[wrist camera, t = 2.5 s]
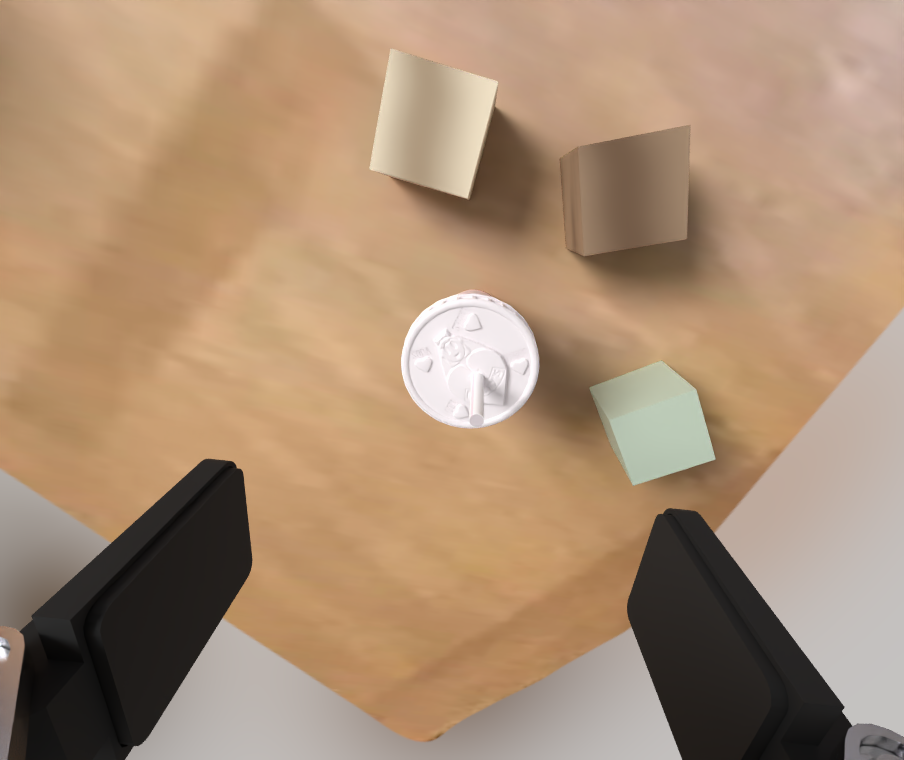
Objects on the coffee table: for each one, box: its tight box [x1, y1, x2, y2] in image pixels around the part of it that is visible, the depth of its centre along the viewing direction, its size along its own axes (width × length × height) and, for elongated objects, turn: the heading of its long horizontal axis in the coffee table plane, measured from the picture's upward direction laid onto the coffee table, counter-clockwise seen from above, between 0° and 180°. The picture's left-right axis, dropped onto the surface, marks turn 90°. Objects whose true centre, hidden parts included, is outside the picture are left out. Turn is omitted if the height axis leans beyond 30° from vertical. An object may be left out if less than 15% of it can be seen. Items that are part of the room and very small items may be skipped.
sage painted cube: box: [589, 360, 716, 486], centre depth 27 cm, size 5×5×5 cm
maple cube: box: [370, 49, 498, 200], centre depth 22 cm, size 5×5×5 cm
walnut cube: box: [560, 125, 690, 256], centre depth 23 cm, size 5×5×5 cm
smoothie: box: [401, 290, 539, 428], centre depth 22 cm, size 6×6×14 cm
